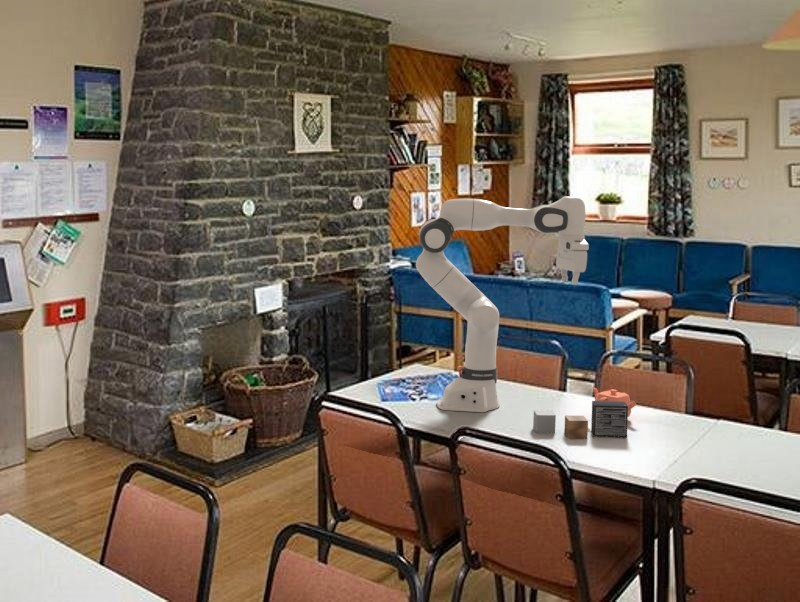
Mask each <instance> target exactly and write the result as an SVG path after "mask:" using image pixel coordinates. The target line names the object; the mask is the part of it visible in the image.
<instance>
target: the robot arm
mask: <svg viewBox="0 0 800 602" xmlns="http://www.w3.org/2000/svg"><path fill="white" fill-rule="evenodd" d="M585 225H586V205H585V202H584V201H583V199H581V198H578V197H573V196H567V195H565V196H563V197H562V198H560V199H558V200H557V201H555V202H552V203H549V204H540V205H536V206H534V207H532V208H515V207H505V206H502V205H499V204H497V203H495V202H492V201H490V200H485V199H480V198H468V197H467V198H452V199H447V200H445V201H444V202H443V204H442V205H441V207H440V212H439V215H438V217H437V218H429V219H428V220H426V221H424V222H423V223H422V224H421V226H420V228H419V231H418V239H419V243H420V245H421V247H422V252H421V253H420V255H419V256H418V257H417V259H416V262H415V267H416V268H415V269H416V270H417V271H418V273H419V274H420V276H421V277H422V278H423V280H424V281H425V282H426V283H427V284H428V285H429V286H430V287H431V288H432V289H433V290H434V291H435V292H436V293H437V294H438V295H439V296H441V298H443V300H445V302H446V303H447V304H449V306H451V307H452V309H454V310H455V311H456V312H457V313H459V314H460V315H461V316H462V318H464V319H465V320H466V322H467V324H466V325H467V326H466V328H467V329H466V338H465V351H464V354H465V355H464V356H465V357H464V366H463V365H458V366H457V368H456V369H457V371H458V377H457V378H456V379H454V380H453V381H452V382H450V383H449V384H447V385H445V388H444V390H443V393H442V394H443V395H442V397H440V398H438V399H437V401H436V406H437V407H438V409H440V410H443V411H455V412H457V411H458V412H469V413H470V412H471V413H472V412H473V413H485V412H487V411H493V410H497V409H498V408H499V407H500V403H499V399H498V391H497V382H498V369H497V344H498V343H497V342H498V337H499V327H500V326H499V325H500V311H499V309H498V307H497V306H496V305H495V304H494V303H493V302H492V301H491V300H490V299H489V298H488V297H487V296H486V295H485V294H484V293H483V292H482V291H481V290H480V289H478V287H477V286H476V285H474V283H473V282H471V280H469V278H467V276H466V275H464V274H463V272H461V271H460V270H459V268H457V267H456V266H455V265H454V264H453V263H452V262H451V261H450V259H449V258H448V257H447V256H446V255H445V252H444V251H445V250H446V249H447V248H448V247H449V246H450V243H451V240H452V237H453V235H454V233H455V231H461V230H462V231H475V232H477V231H478V232H479V231H488V230H493V229H495V228H497V227H504V226H510V227H512V226H513V227H525V228H530V229H531V230H533V231H535V232H537V233H540V234H549V235H550V234H553V233H558V245H557V247H558V248H557V251H556V260H555V265H556V268H558V269H560V273H561V281H562V282H564V283H565V282H566V283H567V282H569V276H568V273H569V272H572V279H571V284H572V285H574V286H576V285H578V284H579V278H580V275H581V273H585V272H586V269H587V264H588V252H587V251H589V248H590V247H589V245H590V244H589V243H588V242H587V241H586V239H585V237H586V236H585V235H586V234H585V230H584V229H585ZM568 271H569V272H568Z"/></svg>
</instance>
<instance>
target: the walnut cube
mask: <svg viewBox="0 0 800 602" xmlns="http://www.w3.org/2000/svg"><path fill="white" fill-rule="evenodd" d="M588 426H589V420H588V419H587V418H586V416H585V415H564V433H563V434H564V435H565V437H566V438H567V439H568V440H588V435H589V434H588V432H589V431H588Z"/></svg>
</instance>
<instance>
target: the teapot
mask: <svg viewBox="0 0 800 602" xmlns="http://www.w3.org/2000/svg"><path fill="white" fill-rule="evenodd" d="M591 389H592V390H593V392H594V401H617V402H625V403H626V404H627V405H628V418H629V417H630V416H631V413H632V409H633V408H635V407H636V406H637V403H636V401H634V400H631V399H630V394H627V393H626V392H619V391H618V390H617V389H613V388H612V389H609V390H605V391H601V392H599V390H598V388H596V387H594V386H591Z"/></svg>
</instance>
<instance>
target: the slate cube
mask: <svg viewBox="0 0 800 602" xmlns="http://www.w3.org/2000/svg"><path fill="white" fill-rule="evenodd" d="M532 427H533V430H534V432H535V433H536V434H556V414H555V412H554V411H553V409H552V410H551V409H550V410H545V409H543V410H542V409H540V410H539V409H534V410H533V426H532Z"/></svg>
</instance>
